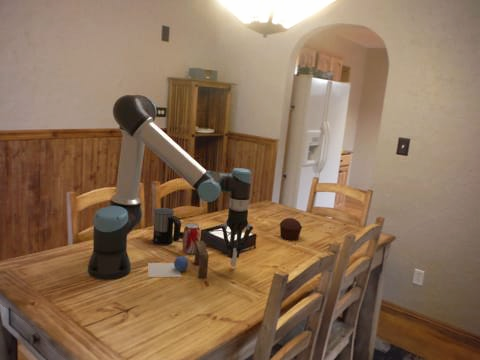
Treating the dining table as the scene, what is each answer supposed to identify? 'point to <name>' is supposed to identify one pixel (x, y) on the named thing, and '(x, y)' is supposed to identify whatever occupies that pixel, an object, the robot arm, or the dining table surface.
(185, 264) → the ball
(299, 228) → the muffin
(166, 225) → the milk frother
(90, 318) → the dining table surface
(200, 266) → the bridge
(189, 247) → the soda can
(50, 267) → the dining table surface
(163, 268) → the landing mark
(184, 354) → the dining table surface
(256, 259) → the dining table surface
